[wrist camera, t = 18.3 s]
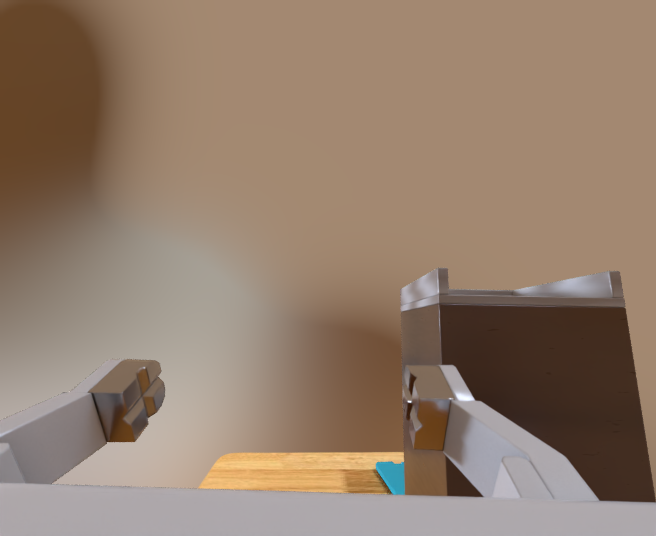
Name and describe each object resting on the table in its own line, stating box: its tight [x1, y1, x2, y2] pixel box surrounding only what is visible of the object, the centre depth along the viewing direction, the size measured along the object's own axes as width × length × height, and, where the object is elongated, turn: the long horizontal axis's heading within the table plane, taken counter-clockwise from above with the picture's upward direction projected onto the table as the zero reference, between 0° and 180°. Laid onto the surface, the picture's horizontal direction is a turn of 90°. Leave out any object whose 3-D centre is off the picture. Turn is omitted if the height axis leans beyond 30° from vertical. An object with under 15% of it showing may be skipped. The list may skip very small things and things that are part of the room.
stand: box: [400, 268, 656, 502], centre depth 19 cm, size 10×10×28 cm
